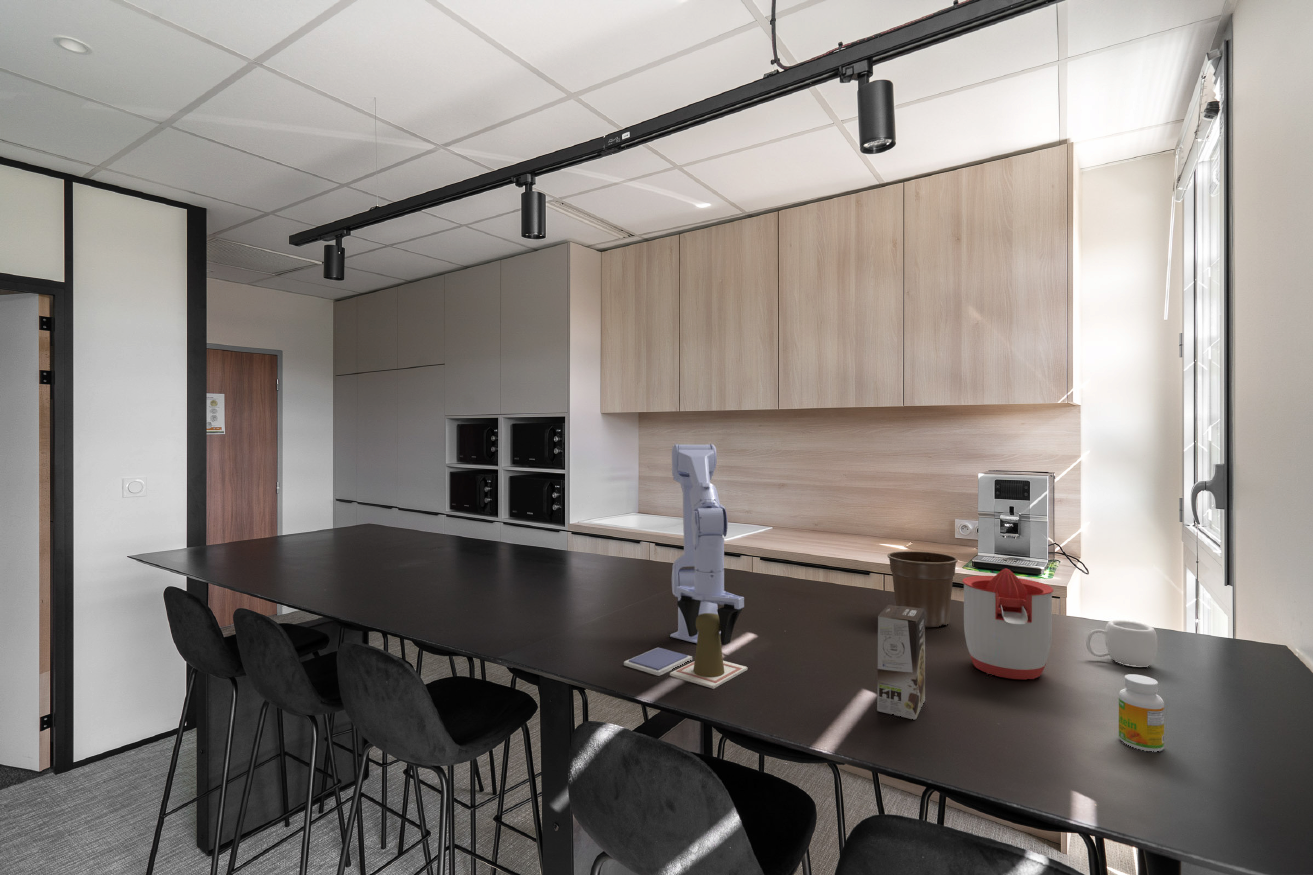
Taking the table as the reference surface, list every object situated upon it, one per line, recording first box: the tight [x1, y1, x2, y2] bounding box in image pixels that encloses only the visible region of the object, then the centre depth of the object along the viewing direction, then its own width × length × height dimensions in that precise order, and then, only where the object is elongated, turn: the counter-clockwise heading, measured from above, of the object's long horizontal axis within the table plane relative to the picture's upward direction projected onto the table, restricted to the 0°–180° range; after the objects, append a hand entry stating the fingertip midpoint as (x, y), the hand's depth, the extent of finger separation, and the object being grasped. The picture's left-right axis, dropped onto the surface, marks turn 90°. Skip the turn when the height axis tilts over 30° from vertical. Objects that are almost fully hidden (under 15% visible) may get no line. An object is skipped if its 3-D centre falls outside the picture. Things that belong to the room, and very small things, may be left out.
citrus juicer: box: [961, 568, 1054, 680], centre depth 122 cm, size 16×17×20 cm
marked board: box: [669, 660, 748, 690], centre depth 121 cm, size 12×10×1 cm
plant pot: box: [886, 550, 959, 628], centre depth 156 cm, size 16×16×16 cm
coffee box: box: [876, 604, 926, 720], centre depth 106 cm, size 9×6×16 cm
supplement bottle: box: [1118, 673, 1165, 753], centre depth 93 cm, size 5×5×10 cm
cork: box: [693, 613, 725, 677], centre depth 121 cm, size 6×6×11 cm
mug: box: [1085, 619, 1158, 666], centre depth 127 cm, size 12×8×8 cm
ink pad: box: [623, 647, 693, 677], centre depth 127 cm, size 11×9×1 cm
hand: (709, 639), depth 121 cm, fingers open, 7 cm apart
